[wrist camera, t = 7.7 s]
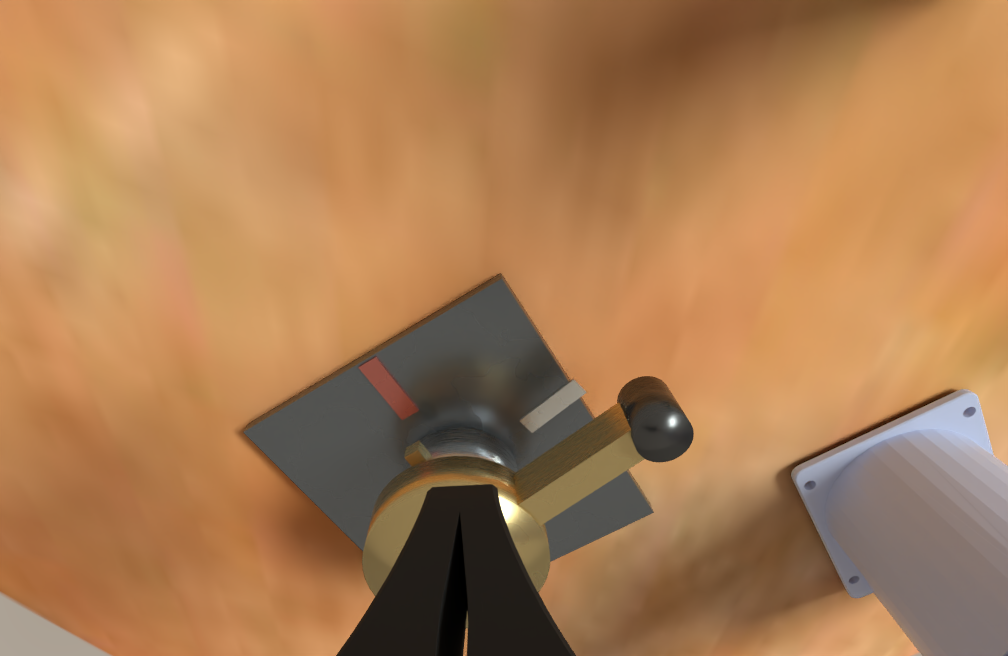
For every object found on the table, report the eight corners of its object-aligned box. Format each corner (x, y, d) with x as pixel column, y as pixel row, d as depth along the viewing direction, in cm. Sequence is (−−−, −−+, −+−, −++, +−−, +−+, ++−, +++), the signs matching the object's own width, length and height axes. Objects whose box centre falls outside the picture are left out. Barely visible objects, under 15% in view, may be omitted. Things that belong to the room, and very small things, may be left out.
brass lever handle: (451, 608, 22) (448, 668, 20) (335, 518, 20) (317, 574, 18) (713, 443, 19) (744, 491, 17) (612, 317, 17) (633, 353, 15)
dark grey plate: (657, 499, 25) (681, 555, 22) (431, 607, 27) (425, 671, 24) (509, 268, 20) (515, 300, 17) (248, 423, 22) (214, 475, 19)
